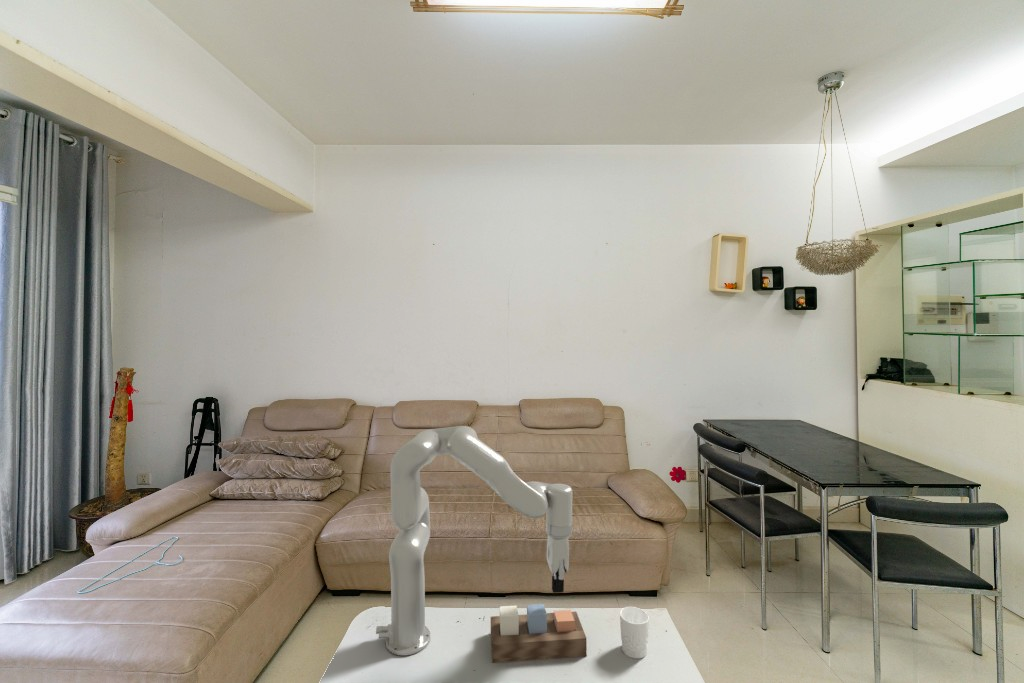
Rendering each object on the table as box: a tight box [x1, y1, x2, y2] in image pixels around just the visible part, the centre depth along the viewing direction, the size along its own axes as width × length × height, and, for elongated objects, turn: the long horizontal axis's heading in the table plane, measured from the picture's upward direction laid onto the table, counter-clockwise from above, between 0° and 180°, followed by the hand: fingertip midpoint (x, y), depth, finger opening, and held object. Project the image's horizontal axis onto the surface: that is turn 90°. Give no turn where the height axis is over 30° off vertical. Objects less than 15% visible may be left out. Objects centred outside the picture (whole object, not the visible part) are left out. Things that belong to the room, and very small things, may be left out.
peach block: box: [553, 609, 575, 632], centre depth 126 cm, size 5×5×6 cm
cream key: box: [499, 605, 519, 636], centre depth 125 cm, size 5×5×6 cm
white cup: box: [619, 606, 650, 659], centre depth 123 cm, size 8×8×10 cm
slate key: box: [526, 603, 547, 634], centre depth 126 cm, size 5×5×6 cm
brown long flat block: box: [490, 611, 588, 664], centre depth 126 cm, size 26×12×5 cm, turn 95°
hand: (557, 590), depth 127 cm, fingers closed
